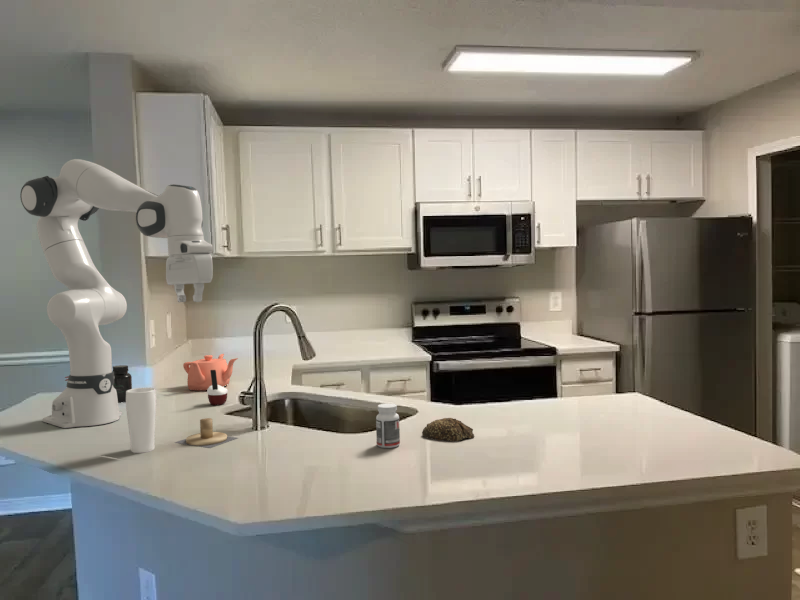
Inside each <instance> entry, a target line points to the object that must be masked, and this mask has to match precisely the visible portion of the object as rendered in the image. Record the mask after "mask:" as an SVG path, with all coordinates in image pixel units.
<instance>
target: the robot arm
mask: <svg viewBox="0 0 800 600" xmlns="http://www.w3.org/2000/svg"><path fill="white" fill-rule="evenodd" d="M19 198H20V202H21V205H22V207H23V209H24V210H25V211H26V212H27V213H28V214H29V215H32V216H35V217H39V218H38V219H37V222H36V231H37V235H38V240H39V242H40V243H39V244H40V245H41V249H42V252H43V255H44V257H45V260H46V263H47V264H48V266H49V269H50V271H51V273H52V274H51V275H52V276H53V278H54V279H55V280H56V281H57V282H60V283H61V284H62V285H64V286H65V287H66V288H67V289H68V290H65V291H61V292H58V293H56V294H54V295H53V296H52V297H51V298H50V299H49V301H48V303H47V306H46V312H47V314H46V315H47V316H48V319H49V321H50V322H51V323H52V324H53V325H54V326H56V327H57V328H58V329H59V330H60V331H61V333H62V335H63V338H64V339H65V342H66V344H67V349H68V357H69V371H70V372H69V373H70V374H69V375H68V376H65V377H64V379H65V380H64V381H66V386H65V387H66V388H65V389H64V390H63V391H62V392H61V393H60V394H59V395H58V396H56V397H55V399H53V401H52V403H51V414H50V415H47V416H44V417H43V419H42V422H43V423H48V424H49V425H53V426H56V427H59V428H62V429H67V428H69V429H70V428H75V427H77V428H78V427H88V426H89V427H90V426H98V425H99V426H100V425H104V424H109V423H112V422H116V421H118V420H120V418H121V416H122V415H123V412H122V411H121V410H120V408H119V403H118V399H117V392H116V389H115V388H114V387H113V384H114V372H113V363H112V361H113V359H112V358H113V356H112V355H113V354H112V347H111V344H110V343H109V342H107V341H106V340H104V338H103V336H102V333H101V332H100V328H99V326H104V325H111V324H112V323H115V322H117V321H119V320H121V319H122V318H123V317H124V316H125V314H126V313H127V309H128V305H127V304H128V303H127V300H126V298H125V296H124V295H123V294H122V293H121V292H119V291H118V290H116V289H115V288H114V287H113V286H111V285H110V284H109V283H108V281H107V280H106V279H105V278H104V276H103V275H102V274H101V273H100V272H99V270H98V268H97V267H96V265H95V264H94V262H93V260H92V257H91V255H90V253H89V249H88V248H87V246H86V244H85V240H84V239H83V236H82V235H81V233H80V230H79V226H78V223H79V220H80V221H83V222H85V221H88V220H89V219H90V217H91V216H92V215H93V214H96V213H97V212H98V210H99V209H102V210H107V211H115V212H116V211H119V212H131V213H132V212H133V213H136V214H135V223H136V226H137V228H138V230H139V232H140V233H141V234H142V235H144V236H146V237H150V238H158V239H159V238H160V239H166V241H167V252H168V253H167V254H168V257H166V261H165V281H166V284H167V286H173V288H174V292H175V294H176V299H177V301H176V302H178V303H186V302H187V295H186V294H185V285H193V289H194V293H193V295H192V300H193V303H202V302H203V293H204V289H205V284H208V283H209V284H210V283H212V280H213V277H214V275H213V274H214V272H213V271H214V270H213V269H214V265H213V257H212V253H213V252H214V246H213V244H212V243H210V242H208V241H206V240H205V236H204V231H203V229H202V228H203V226H204V220H203V208H202V206H203V205H202V201H201V196H200V193H199V191H198V189H197V188H195V187H193V186H189V185H183V184H170V185H167V186H166V187H165V188H164V191H163V192H162V193H161V194H160V195H157V194H156V193H154V192H151V191H149V190H146V189H144V188H142V187H141V186H139V185H137V184H136V183H133V182H131V181H129V180H128V179H126V178H124V177H122V176H121V175H119V174H118V173H115V172H114V171H111V170H110V169H108V168H106V167H104V166H103V165H100V164H97V163H96V162H93V161H88V160H84V159H80V158H74V159H70V160H68V161H66V162H65V163H64V164H63V165H62V167H61V169H60V171H59V175H58V176H56V177H50V176H49V175H45V176H41V177H37V178H33V179H30V180H28V181H26V182H25V183H24V184H23V186H22V187H21V190H20V197H19Z"/></svg>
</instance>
